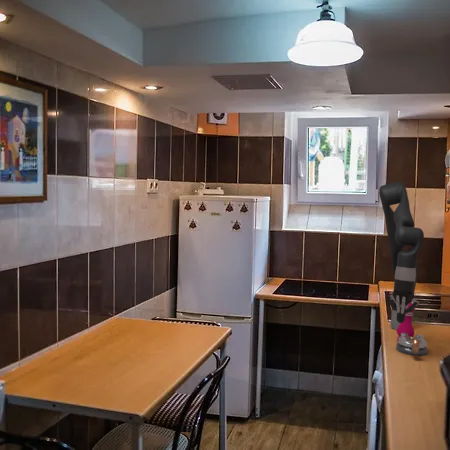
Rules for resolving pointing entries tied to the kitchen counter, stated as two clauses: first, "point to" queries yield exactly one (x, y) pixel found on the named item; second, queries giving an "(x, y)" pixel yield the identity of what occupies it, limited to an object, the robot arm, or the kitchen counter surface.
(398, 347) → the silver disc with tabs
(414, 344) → the crank handle
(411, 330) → the pepper mill
